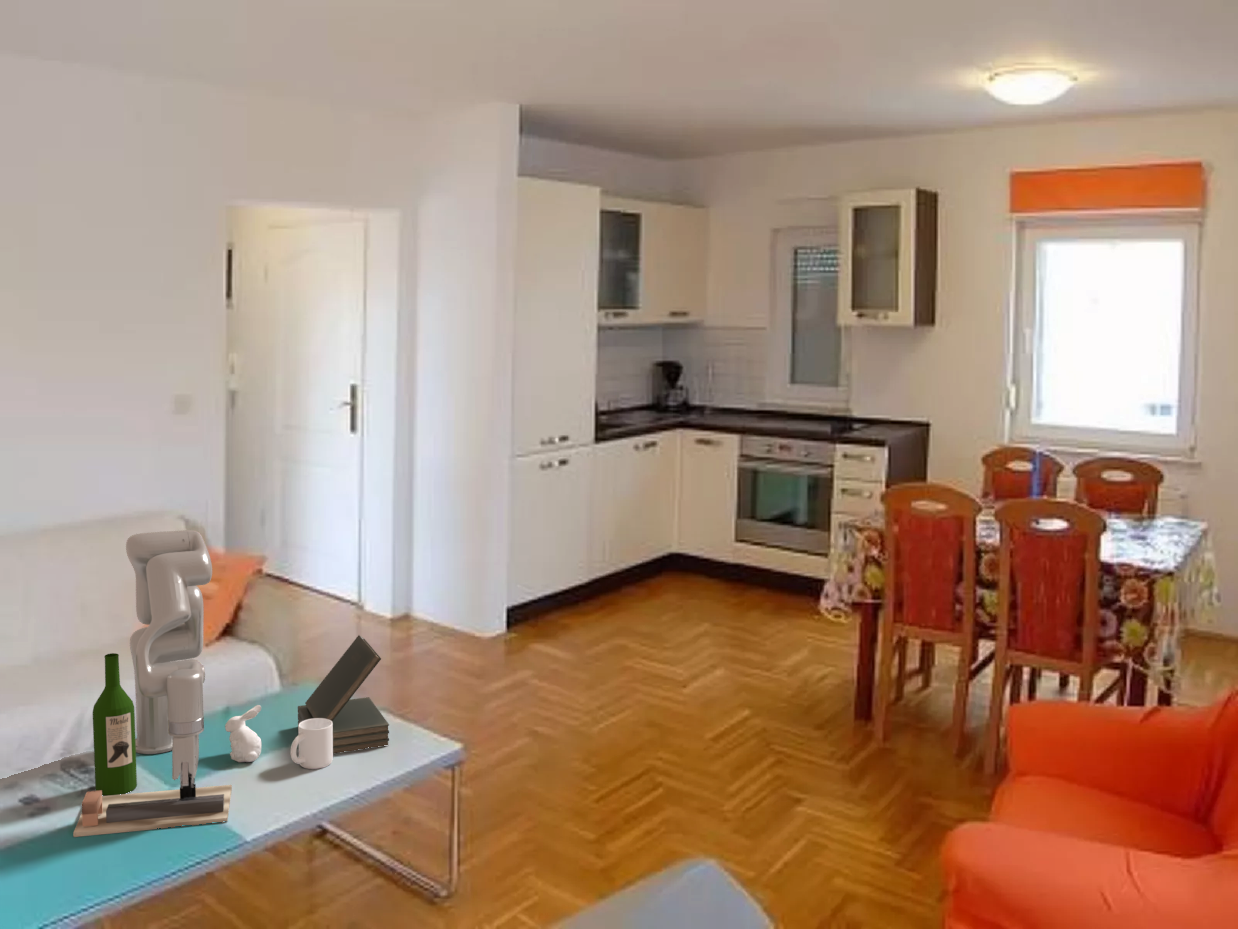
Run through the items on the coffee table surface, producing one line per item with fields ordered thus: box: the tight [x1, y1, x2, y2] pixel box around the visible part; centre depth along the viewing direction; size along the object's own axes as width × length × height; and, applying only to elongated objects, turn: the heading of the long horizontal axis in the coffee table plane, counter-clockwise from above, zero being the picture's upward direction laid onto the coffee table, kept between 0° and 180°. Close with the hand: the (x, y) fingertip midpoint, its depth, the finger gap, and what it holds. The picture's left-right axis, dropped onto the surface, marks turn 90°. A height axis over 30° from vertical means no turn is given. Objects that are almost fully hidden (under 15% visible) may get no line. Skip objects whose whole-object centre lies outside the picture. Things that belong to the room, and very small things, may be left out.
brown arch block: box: [81, 790, 103, 827], centre depth 240 cm, size 6×3×5 cm, turn 16°
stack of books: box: [297, 634, 390, 755], centre depth 294 cm, size 23×20×25 cm
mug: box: [290, 718, 334, 770], centre depth 275 cm, size 12×8×10 cm
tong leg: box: [107, 794, 224, 808], centre depth 246 cm, size 24×2×2 cm, turn 106°
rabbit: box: [224, 704, 262, 763], centre depth 279 cm, size 12×9×12 cm
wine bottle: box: [92, 652, 138, 796], centre depth 257 cm, size 9×9×32 cm
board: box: [72, 784, 233, 838], centre depth 248 cm, size 18×31×4 cm, turn 106°
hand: (188, 802), depth 250 cm, fingers closed
